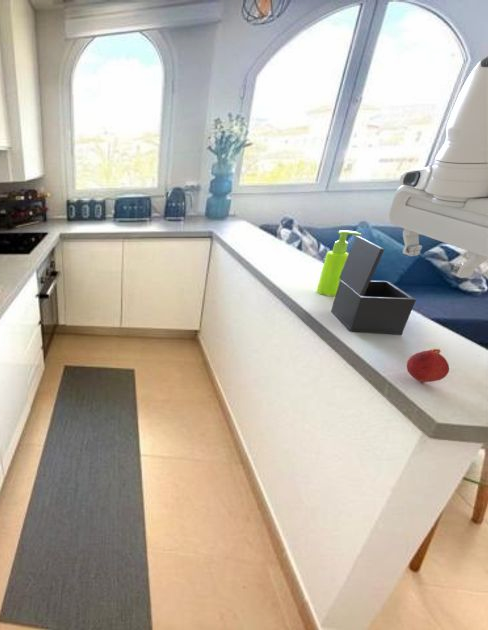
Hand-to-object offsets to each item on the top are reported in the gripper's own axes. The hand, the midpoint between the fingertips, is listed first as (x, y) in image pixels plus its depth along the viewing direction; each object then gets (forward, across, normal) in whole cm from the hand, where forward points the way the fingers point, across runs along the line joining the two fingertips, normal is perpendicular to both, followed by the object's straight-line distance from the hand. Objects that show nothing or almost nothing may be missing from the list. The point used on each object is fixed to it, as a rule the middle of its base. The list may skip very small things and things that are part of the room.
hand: (433, 264), depth 58 cm
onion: (+27, 0, -7) cm, 28 cm away
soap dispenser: (+31, +46, -18) cm, 59 cm away
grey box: (+29, +26, -14) cm, 41 cm away
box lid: (+13, +28, -11) cm, 33 cm away
